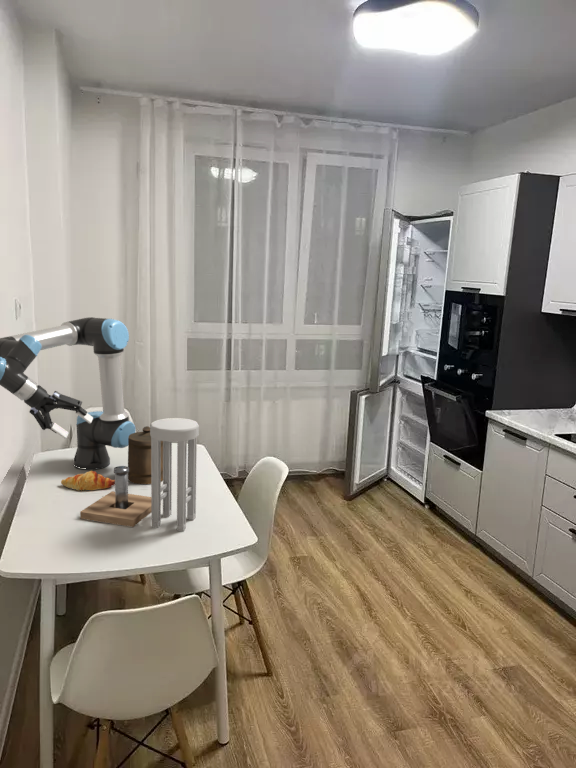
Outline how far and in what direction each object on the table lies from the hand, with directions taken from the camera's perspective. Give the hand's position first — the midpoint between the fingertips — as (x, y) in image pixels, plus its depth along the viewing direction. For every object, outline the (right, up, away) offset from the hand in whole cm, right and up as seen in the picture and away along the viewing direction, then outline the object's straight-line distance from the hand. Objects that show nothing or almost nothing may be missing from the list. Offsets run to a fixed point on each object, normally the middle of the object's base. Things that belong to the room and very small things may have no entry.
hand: (79, 428), depth 207 cm
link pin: (+17, -29, -4) cm, 34 cm away
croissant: (-3, -25, +17) cm, 30 cm away
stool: (+37, -31, -11) cm, 50 cm away
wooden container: (+17, -23, +29) cm, 41 cm away
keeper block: (+17, -29, -4) cm, 34 cm away
